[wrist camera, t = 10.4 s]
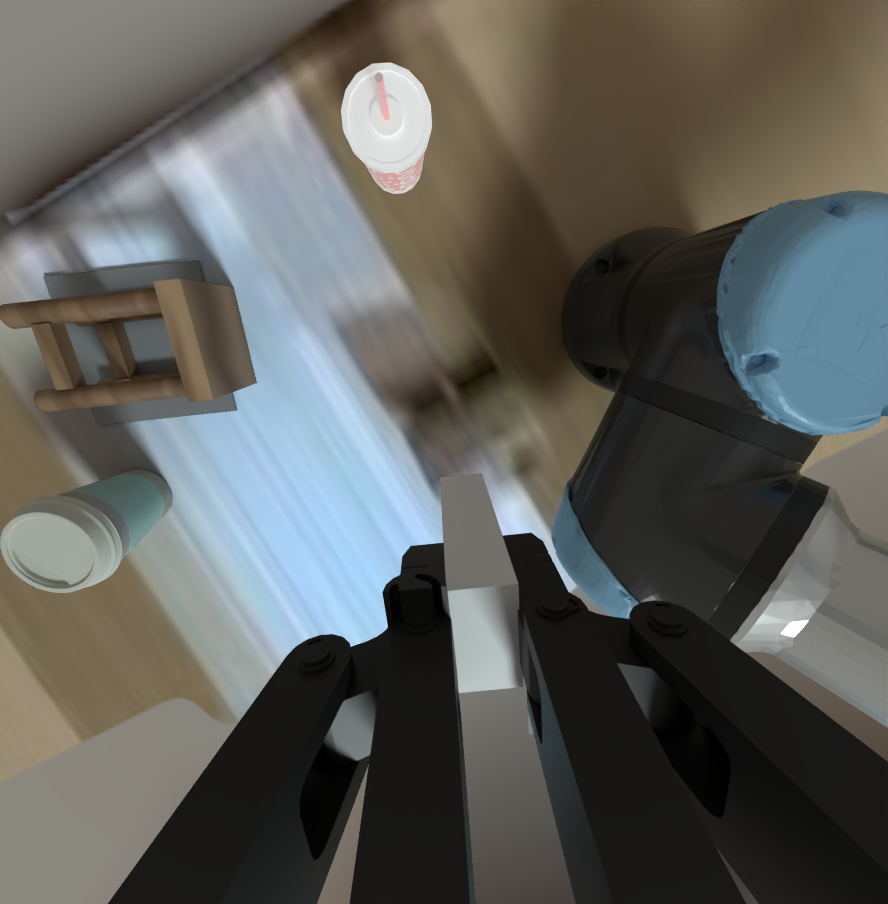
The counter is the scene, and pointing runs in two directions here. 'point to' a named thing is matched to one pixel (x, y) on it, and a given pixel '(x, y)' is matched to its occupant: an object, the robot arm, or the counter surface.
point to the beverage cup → (388, 124)
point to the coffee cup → (83, 530)
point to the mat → (132, 340)
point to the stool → (189, 328)
